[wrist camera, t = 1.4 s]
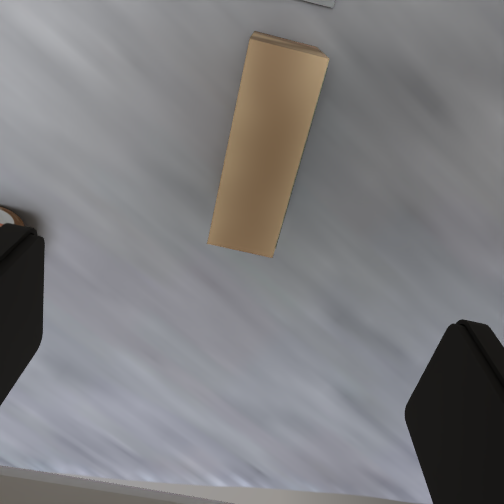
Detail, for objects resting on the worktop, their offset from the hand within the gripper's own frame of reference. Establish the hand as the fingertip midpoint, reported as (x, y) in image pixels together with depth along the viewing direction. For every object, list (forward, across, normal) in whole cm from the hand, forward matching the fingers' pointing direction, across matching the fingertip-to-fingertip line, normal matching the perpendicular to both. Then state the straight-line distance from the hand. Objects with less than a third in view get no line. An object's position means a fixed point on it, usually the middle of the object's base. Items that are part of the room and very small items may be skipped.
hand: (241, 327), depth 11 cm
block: (+20, 0, 0) cm, 20 cm away
